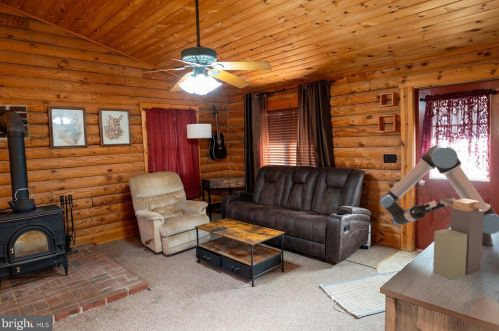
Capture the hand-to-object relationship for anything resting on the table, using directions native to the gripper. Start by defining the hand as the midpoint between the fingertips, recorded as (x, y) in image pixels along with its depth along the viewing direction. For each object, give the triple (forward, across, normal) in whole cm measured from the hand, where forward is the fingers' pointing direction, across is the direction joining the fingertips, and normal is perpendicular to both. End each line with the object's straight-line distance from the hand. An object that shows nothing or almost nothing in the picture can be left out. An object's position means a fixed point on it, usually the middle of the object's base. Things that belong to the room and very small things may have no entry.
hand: (445, 201), depth 162 cm
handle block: (+4, 0, -4) cm, 6 cm away
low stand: (-6, +10, -33) cm, 35 cm away
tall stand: (-6, 0, -33) cm, 33 cm away
